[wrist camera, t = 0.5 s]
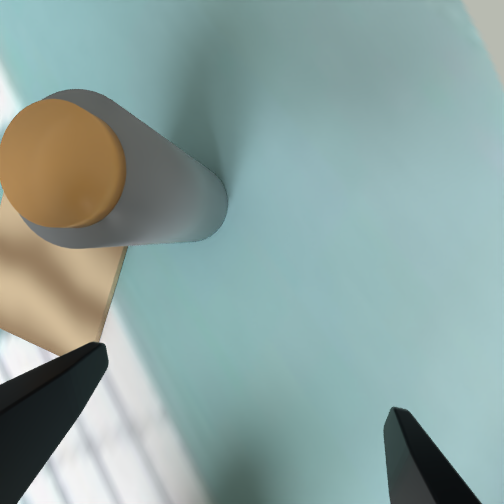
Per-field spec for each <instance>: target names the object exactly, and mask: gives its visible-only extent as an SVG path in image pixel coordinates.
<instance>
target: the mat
mask: <svg viewBox="0 0 504 504" xmlns="http://www.w3.org/2000/svg"><path fill="white" fill-rule="evenodd" d="M127 248H128V246H118V247H102V248H86V249H70V248H64V247H60V246H57V245H54V244H52V243H50V242H48V241H46V240H44V239H43V238H41V237H40V236H38V235H37V234H36V233H35V232H33V231H32V230H31V229H30V228H29V227H28V225H27V224H26V223H25V222H24V221H23V219H22V218H21V216H20V215H19V213H18V212H17V211H16V210H15V209H14V207H13V206H12V205H11V203H10V202H9V200H8V199H7V197H6V195H5V193H3V197H2V201H1V205H0V328H1V329H3V330H5V331H7V332H9V333H11V334H13V335H16V336H18V337H20V338H22V339H24V340H26V341H28V342H30V343H33V344H35V345H37V346H39V347H41V348H43V349H45V350H48V351H50V352H52V353H54V354H56V355H58V356H62V355H64V354H66V353H68V352H70V351H72V350H75V349H77V348H79V347H81V346H83V345H85V344H87V343H89V342H92V341H95V342H99V340H100V337H101V333H102V330H103V327H104V323H105V320H106V317H107V313H108V310H109V307H110V304H111V300H112V297H113V294H114V290H115V287H116V284H117V281H118V277H119V274H120V271H121V267H122V264H123V261H124V258H125V254H126V251H127Z"/></svg>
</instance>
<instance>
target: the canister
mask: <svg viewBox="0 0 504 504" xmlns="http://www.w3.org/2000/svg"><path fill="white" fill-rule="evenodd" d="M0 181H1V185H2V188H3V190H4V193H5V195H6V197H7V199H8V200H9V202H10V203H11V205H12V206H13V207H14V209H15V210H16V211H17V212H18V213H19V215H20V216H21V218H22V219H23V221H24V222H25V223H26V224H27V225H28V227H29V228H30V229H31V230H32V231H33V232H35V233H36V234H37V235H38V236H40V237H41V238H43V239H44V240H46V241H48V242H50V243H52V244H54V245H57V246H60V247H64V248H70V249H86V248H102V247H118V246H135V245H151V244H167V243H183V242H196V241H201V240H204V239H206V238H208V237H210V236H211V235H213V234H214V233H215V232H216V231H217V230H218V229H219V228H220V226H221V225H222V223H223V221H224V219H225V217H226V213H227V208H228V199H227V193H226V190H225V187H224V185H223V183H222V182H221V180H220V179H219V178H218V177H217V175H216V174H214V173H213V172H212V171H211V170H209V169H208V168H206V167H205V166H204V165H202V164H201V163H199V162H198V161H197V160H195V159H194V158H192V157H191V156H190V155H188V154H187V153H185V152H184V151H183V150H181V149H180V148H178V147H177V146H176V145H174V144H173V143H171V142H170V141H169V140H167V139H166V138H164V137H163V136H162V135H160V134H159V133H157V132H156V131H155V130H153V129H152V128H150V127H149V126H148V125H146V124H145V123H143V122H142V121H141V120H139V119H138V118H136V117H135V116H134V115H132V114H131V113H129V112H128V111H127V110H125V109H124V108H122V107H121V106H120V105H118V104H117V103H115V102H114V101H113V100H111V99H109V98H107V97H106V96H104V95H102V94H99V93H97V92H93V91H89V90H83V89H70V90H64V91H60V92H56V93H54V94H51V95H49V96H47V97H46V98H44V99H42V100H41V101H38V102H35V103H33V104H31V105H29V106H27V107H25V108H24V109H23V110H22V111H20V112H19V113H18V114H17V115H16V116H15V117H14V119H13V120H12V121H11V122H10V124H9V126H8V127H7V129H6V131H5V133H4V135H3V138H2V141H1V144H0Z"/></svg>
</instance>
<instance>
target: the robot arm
mask: <svg viewBox="0 0 504 504" xmlns="http://www.w3.org/2000/svg"><path fill="white" fill-rule="evenodd" d="M108 363H109V361H108V355H107V350H106V346H105V344H103V343H100V342H95V341H92V342H89V343H87V344H85V345H83V346H81V347H79V348H77V349H75V350H72V351H70V352H68V353H66V354H64V355H62V356H60V357H58V358H56V359H53V360H51V361H49V362H47V363H45V364H43V365H41V366H39V367H37V368H34V369H32V370H30V371H28V372H26V373H24V374H22V375H20V376H17V377H15V378H13V379H11V380H9V381H7V382H5V383H3V384H1V385H0V504H17V503H18V501H19V500H20V498H21V497H22V496H23V494H24V493H25V491H26V490H27V489H28V487H29V486H30V484H31V483H32V482H33V480H34V479H35V477H36V476H37V475H38V473H39V472H40V470H41V469H42V468H43V466H44V465H45V463H46V462H47V461H48V459H49V458H50V456H51V455H52V453H53V452H54V451H55V449H56V448H57V446H58V445H59V444H60V442H61V441H62V439H63V438H64V437H65V435H66V434H67V432H68V431H69V430H70V428H71V427H72V425H73V424H74V423H75V421H76V420H77V418H78V417H79V415H80V414H81V412H82V411H83V409H84V407H85V406H86V404H87V402H88V401H89V399H90V397H91V395H92V394H93V392H94V390H95V389H96V387H97V385H98V383H99V382H100V380H101V378H102V377H103V375H104V373H105V371H106V370H107V367H108ZM384 444H385V455H386V466H387V477H388V487H389V496H390V502H391V504H482V503H481V502H480V501H479V499H478V498H477V497H476V496H475V494H474V493H473V492H472V490H471V489H470V488H469V487H468V485H467V484H466V483H465V482H464V480H463V479H462V478H461V476H460V475H459V474H458V473H457V471H456V470H455V469H454V468H453V466H452V465H451V464H450V462H449V461H448V460H447V459H446V457H445V456H444V455H443V454H442V452H441V451H440V450H439V448H438V447H437V446H436V445H435V443H434V442H433V441H432V439H431V438H430V437H429V436H428V434H427V433H426V432H425V431H424V429H423V428H422V427H421V425H420V424H419V423H418V422H417V420H416V419H415V418H414V417H413V415H412V414H411V413H410V412H409V411H408V410H406V409H403V408H398V407H392V408H391V409H390V412H389V414H388V417H387V419H386V422H385V425H384Z"/></svg>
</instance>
